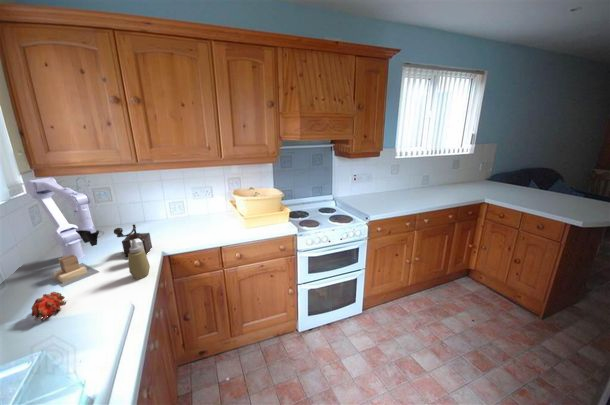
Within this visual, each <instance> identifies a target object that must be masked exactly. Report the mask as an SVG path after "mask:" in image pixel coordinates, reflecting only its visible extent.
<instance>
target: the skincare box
mask: <svg viewBox="0 0 610 405" xmlns="http://www.w3.org/2000/svg"><path fill="white" fill-rule="evenodd" d="M134 240H136V242H137V244H138V245H140V246H141V247H142V250H144V247H143V243H142V241H141V240H140V239H139V238H138V239H134ZM130 244H131V247H132V240H131V241H130Z"/></svg>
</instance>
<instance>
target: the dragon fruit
mask: <svg viewBox="0 0 610 405" xmlns="http://www.w3.org/2000/svg"><path fill="white" fill-rule="evenodd" d="M65 299H66V298H65V296H64V295H62V293H60V292H56V291H52V292H50V293H47V294H46V293H45V294H42V297H40V298H39V297H38V298H36V299H35V301H34V302H33V305H32V307H31V315H32V317H34V318H37V319H40V321H43V320H45V319H49V318H50V317H51V316H52V315H53V314H59V313H60V312H61V311H62V306H64V305H66V304H67V300H65ZM49 315H50V316H49ZM47 316H48V317H47ZM41 317H43V318H42V319H41Z"/></svg>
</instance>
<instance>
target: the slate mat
mask: <svg viewBox="0 0 610 405" xmlns="http://www.w3.org/2000/svg"><path fill="white" fill-rule="evenodd" d="M79 264H80V265H82V266H84V267H85V268H86V269H87V273H88V274H85V275H83V276H80V277H78V278H75V279H73V280H70V281H68V282H65V283H62V282H61V281H59V280H57V279H56V278H55V277H54V273H52V274H49V275H46V278H48V279H49V280H50V281H52V282H53V283H55V284H57V285H58V286H60V287H61V288H64V287H67V286H69V285H72V284H74V283H77V282H78V281H81V280H84V279H86V278H88V277H91V276H94V275H97V274H99V273H100V271H99V270H97V269H95V268H93V267H91V266H89V265H87V264H86V263H83V262H82V263H79Z"/></svg>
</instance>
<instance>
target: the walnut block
mask: <svg viewBox="0 0 610 405" xmlns="http://www.w3.org/2000/svg"><path fill="white" fill-rule="evenodd" d="M57 260H58V263H59V266H60V269H61V270H62V271H63V272H65V273H69V272H72V271H74V270H77V269H80V266H79V264H80V263H79V259H77V257H76V256H74V255H72V254H71V255H68V256H65V257H64V256H63V257H60V258H58V259H57Z"/></svg>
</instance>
